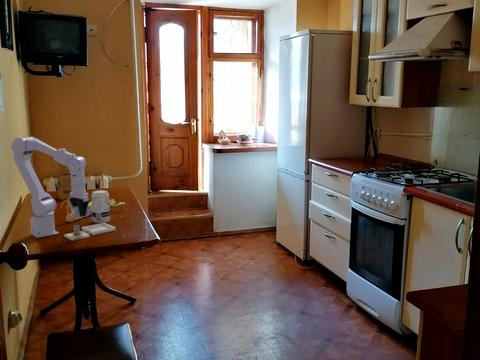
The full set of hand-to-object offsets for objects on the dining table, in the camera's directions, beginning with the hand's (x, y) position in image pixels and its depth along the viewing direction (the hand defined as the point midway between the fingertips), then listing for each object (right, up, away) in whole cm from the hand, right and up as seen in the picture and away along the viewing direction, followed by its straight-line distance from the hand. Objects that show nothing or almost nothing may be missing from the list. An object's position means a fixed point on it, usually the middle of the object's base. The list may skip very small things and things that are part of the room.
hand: (80, 214), depth 200 cm
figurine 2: (-7, -2, +49) cm, 50 cm away
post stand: (-1, -10, 0) cm, 10 cm away
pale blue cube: (0, 0, 0) cm, 0 cm away
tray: (+5, -8, +10) cm, 13 cm away
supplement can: (+2, -5, +26) cm, 26 cm away
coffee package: (-36, +4, +82) cm, 89 cm away
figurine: (-14, -5, +26) cm, 30 cm away
